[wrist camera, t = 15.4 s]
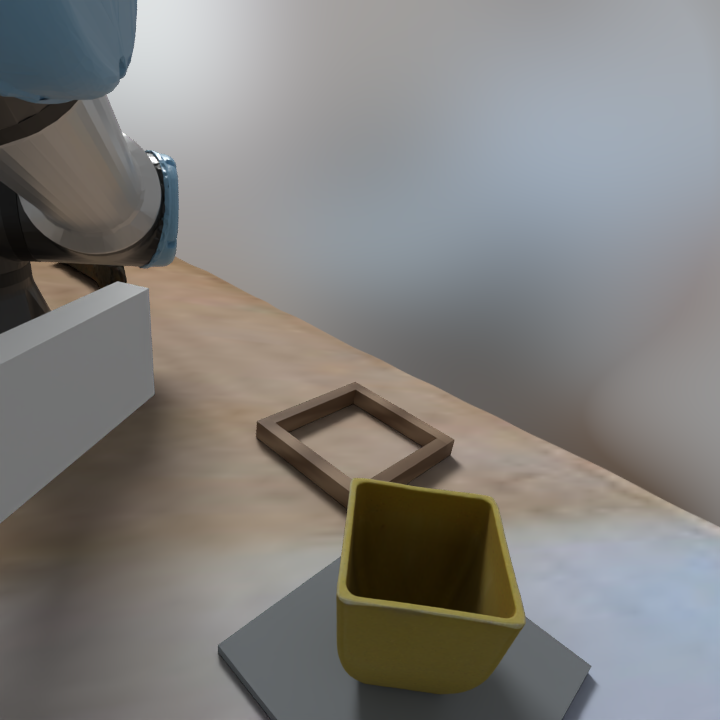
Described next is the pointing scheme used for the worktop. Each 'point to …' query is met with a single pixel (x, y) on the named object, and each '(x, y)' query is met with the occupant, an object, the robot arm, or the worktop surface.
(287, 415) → the square wooden frame
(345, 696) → the mat
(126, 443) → the worktop surface
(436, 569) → the flower pot
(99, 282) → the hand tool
